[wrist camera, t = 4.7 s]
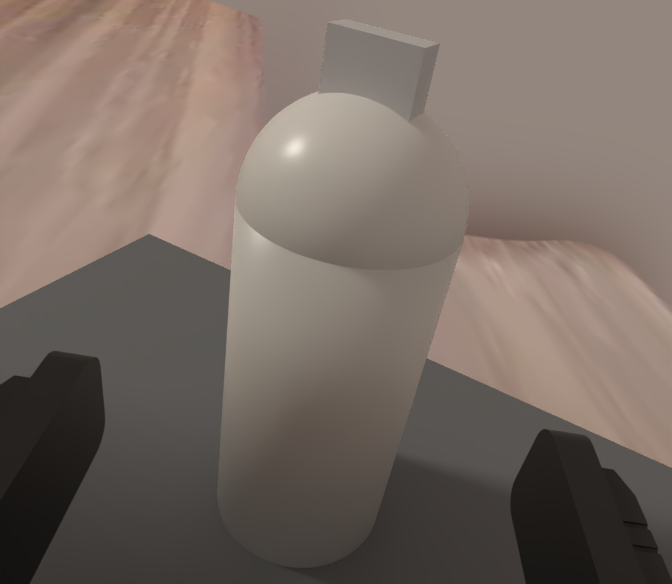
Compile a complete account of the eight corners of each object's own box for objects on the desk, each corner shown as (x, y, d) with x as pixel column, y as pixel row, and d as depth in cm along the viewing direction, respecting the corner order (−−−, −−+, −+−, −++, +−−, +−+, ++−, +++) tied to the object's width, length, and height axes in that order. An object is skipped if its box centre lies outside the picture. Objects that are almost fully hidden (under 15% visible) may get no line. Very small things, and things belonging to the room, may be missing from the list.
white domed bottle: (181, 509, 16) (186, 10, 9) (275, 408, 19) (330, -3, 12) (331, 602, 14) (472, 92, 7) (402, 475, 18) (543, 50, 11)
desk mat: (-300, 472, 15) (-306, 461, 15) (149, 241, 27) (148, 233, 27) (714, 1385, 7) (731, 1392, 7) (701, 491, 20) (707, 484, 19)
